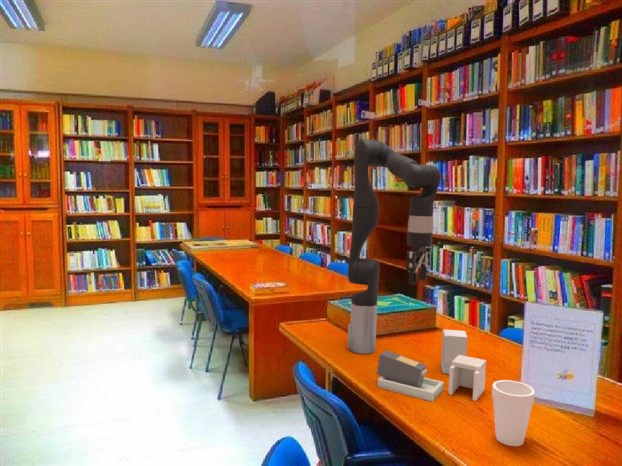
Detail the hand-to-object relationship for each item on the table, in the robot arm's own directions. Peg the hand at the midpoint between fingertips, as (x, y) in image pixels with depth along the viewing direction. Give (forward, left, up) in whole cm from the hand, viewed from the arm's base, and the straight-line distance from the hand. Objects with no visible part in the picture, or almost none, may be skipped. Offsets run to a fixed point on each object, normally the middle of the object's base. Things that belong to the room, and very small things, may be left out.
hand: (417, 282), depth 159 cm
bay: (+18, -2, -30) cm, 35 cm away
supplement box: (+9, +12, -30) cm, 34 cm away
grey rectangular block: (-1, -10, -28) cm, 30 cm away
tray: (+3, -10, -30) cm, 32 cm away
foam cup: (+34, -24, -30) cm, 51 cm away
